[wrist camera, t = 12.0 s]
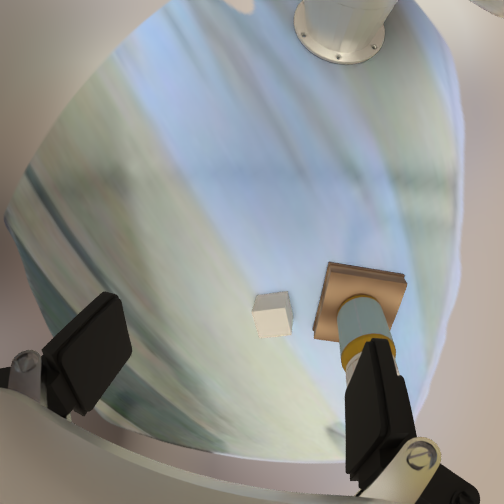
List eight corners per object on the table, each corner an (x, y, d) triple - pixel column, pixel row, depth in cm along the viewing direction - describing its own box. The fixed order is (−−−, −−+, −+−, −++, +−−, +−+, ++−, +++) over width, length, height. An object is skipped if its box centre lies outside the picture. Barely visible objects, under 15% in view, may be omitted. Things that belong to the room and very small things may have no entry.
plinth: (328, 261, 42) (329, 270, 40) (403, 274, 41) (409, 282, 38) (312, 328, 47) (312, 339, 44) (380, 337, 45) (383, 348, 43)
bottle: (387, 319, 41) (409, 390, 27) (347, 337, 43) (355, 411, 29) (371, 285, 39) (394, 353, 25) (328, 305, 42) (333, 378, 28)
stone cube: (257, 294, 47) (251, 311, 42) (287, 290, 45) (285, 307, 41) (264, 320, 48) (259, 338, 44) (293, 316, 47) (291, 335, 42)
